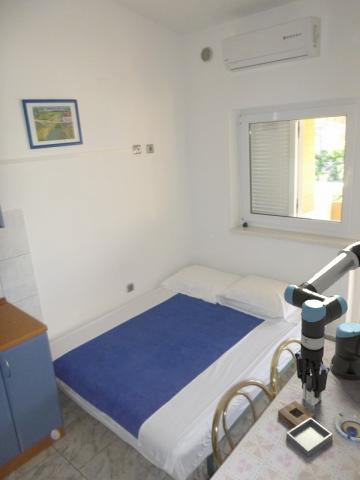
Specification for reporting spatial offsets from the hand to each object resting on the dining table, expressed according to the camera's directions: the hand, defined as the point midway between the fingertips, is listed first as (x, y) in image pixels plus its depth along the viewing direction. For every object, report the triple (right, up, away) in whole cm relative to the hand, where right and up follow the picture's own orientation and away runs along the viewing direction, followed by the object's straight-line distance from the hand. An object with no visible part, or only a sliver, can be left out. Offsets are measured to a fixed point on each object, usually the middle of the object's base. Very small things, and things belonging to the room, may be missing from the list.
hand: (310, 400), depth 135 cm
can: (+10, -10, +25) cm, 29 cm away
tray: (+1, -17, +5) cm, 17 cm away
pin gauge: (0, -3, +1) cm, 3 cm away
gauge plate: (0, -14, +15) cm, 21 cm away
